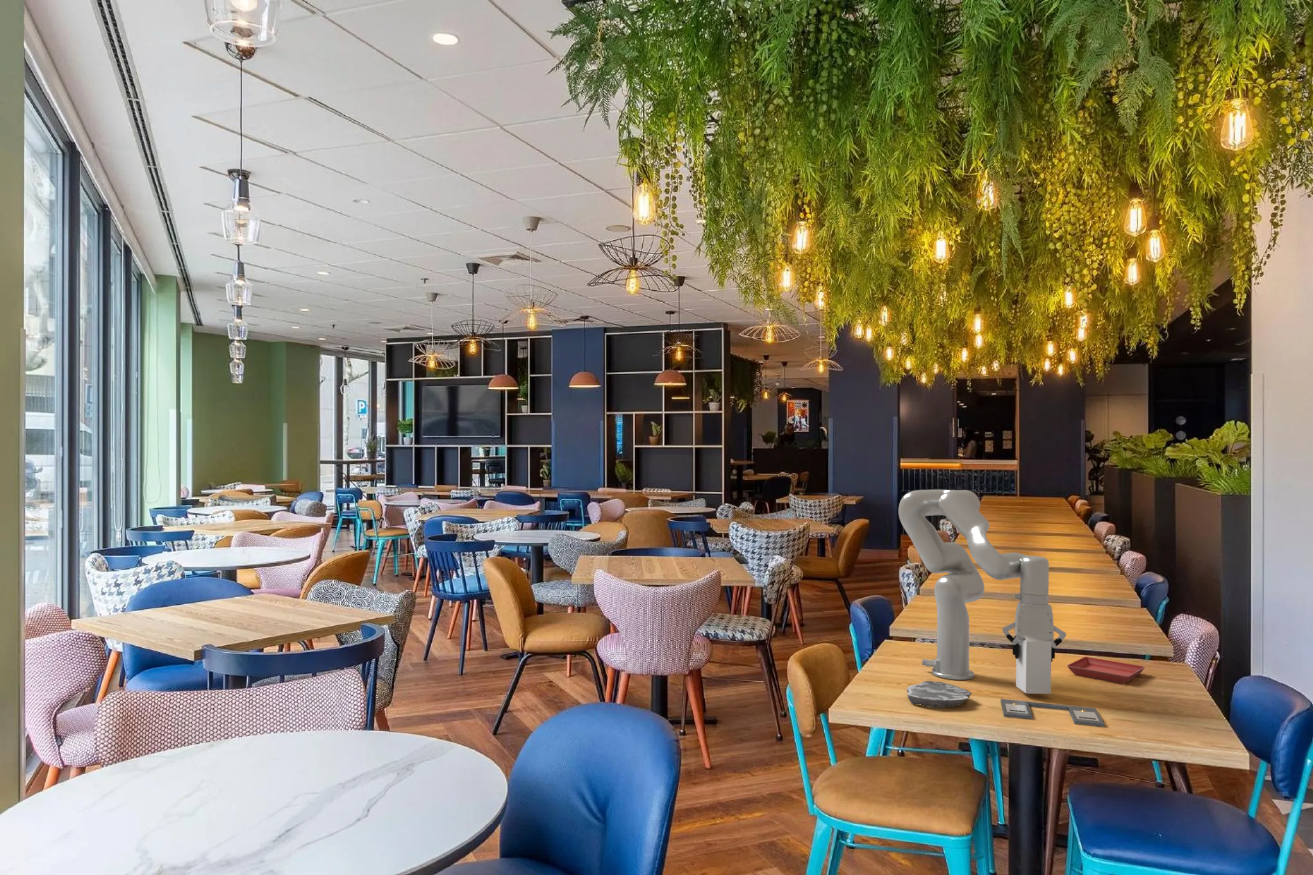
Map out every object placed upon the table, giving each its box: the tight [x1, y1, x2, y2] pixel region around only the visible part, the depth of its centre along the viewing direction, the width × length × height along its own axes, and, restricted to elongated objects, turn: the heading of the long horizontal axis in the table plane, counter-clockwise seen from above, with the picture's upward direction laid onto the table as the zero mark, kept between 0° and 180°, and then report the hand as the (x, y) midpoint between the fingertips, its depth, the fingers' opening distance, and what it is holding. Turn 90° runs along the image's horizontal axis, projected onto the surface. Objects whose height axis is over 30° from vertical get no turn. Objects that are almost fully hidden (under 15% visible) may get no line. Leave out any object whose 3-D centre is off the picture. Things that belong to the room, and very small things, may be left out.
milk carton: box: [1015, 635, 1052, 695], centre depth 246 cm, size 7×7×19 cm
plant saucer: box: [1066, 656, 1146, 684], centre depth 270 cm, size 18×18×3 cm
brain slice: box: [906, 680, 972, 709], centre depth 240 cm, size 20×17×3 cm
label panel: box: [1000, 698, 1106, 728], centre depth 229 cm, size 24×14×1 cm, turn 71°
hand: (1033, 659), depth 246 cm, fingers closed on milk carton, 8 cm apart
